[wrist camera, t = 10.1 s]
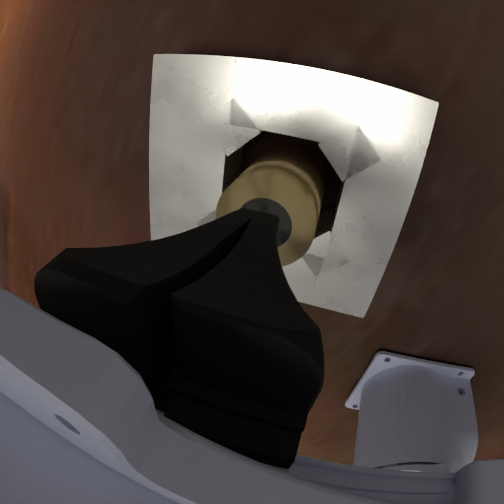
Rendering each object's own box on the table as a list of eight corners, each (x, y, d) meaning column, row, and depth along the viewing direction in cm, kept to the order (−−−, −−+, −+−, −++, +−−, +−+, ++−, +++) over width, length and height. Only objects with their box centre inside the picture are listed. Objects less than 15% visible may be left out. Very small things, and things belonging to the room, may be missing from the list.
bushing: (334, 153, 16) (327, 192, 11) (316, 218, 18) (300, 279, 13) (261, 134, 17) (222, 164, 12) (249, 199, 19) (210, 251, 14)
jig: (423, 97, 13) (438, 102, 11) (363, 286, 20) (363, 318, 17) (182, 54, 15) (153, 54, 13) (174, 236, 22) (152, 259, 19)
